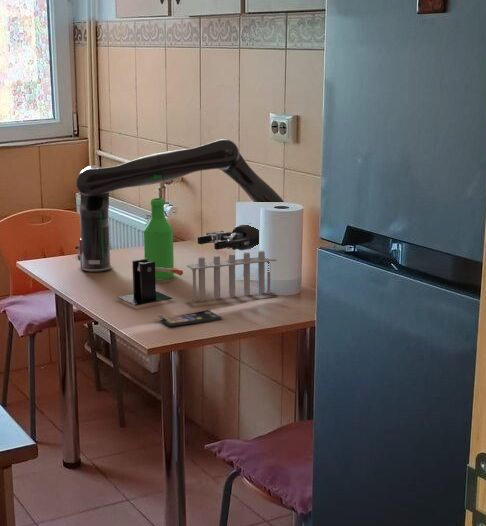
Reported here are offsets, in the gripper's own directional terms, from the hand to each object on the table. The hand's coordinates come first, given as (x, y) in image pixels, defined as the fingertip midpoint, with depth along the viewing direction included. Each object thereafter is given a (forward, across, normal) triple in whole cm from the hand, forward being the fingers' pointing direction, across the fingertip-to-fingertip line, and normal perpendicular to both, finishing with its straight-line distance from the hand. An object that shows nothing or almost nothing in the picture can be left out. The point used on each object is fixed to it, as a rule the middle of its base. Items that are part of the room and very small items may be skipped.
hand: (206, 243), depth 268 cm
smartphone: (+20, +21, +14) cm, 33 cm away
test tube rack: (+1, +13, +14) cm, 19 cm away
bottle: (+5, -18, +14) cm, 23 cm away
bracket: (+21, 0, +14) cm, 25 cm away
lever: (+17, 0, +6) cm, 18 cm away
